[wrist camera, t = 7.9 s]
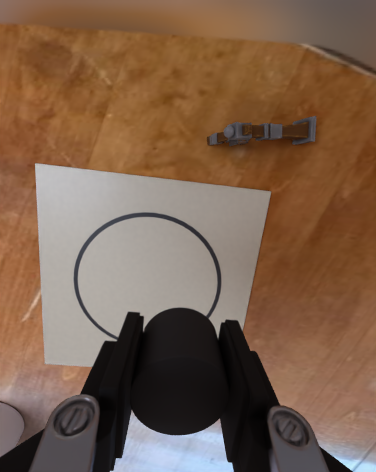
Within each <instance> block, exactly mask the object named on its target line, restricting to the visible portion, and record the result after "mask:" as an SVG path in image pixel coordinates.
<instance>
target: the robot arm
mask: <svg viewBox="0 0 376 472" xmlns="http://www.w3.org/2000/svg"><path fill="white" fill-rule="evenodd" d="M143 325H144V316H140V312H129V311H128V313H127V315H126V318H125V321H124V323H123V326H122V329H121V331H120V334H119V336H118V339H117V341H106V340H105V341H104V343H103V345H102V347H101V349H100V351H99V354H98V356H97V358H96V360H95V362H94V365H93V367H92V369H91V371H90V373H89V376H88V378H87V380H86V382H85V385H84V387H83V389H82V391H81V393H80V395H75V396H72V397H70V398H68V399H66V400H64V401H63V402H61V403H60V404H59V405H58V406H57V407H56V408H55V409H54V410H53V412H52V413H51V415H50V417H49V419H48V422H47V424H46V427H45V429H43V430H42V431H40V432H39V433H37V434H35V435H34V436H32V437H31V438H29V439H28V440H26V441H24V442H23V443H21V444H20V445H18V446H17V447H15V448H13V449H12V450H10V451H9V452H7V453H6V454H4V455H2V456H1V457H0V472H110V471H113V469H114V465H115V460H116V458H122V455H123V450H124V445H125V440H126V435H127V430H128V425H129V420H130V415H131V410H132V408H131V405H130V396H131V384H132V379H133V375H134V371H135V366H136V362H137V357H138V353H139V349H140V344H141V340H142V335H143ZM218 342H219V346H220V350H221V354H222V358H223V363H224V367H225V371H226V375H227V379H228V383H229V388H230V392H229V398H228V403H227V408H226V410H225V412H224V413H223V415H222V416H221V417H220V421H221V427H222V433H223V439H224V445H225V451H226V457H227V461H228V462H232V464H233V469H234V472H352V471H351V470H350V469H349V468H347V467H346V466H345V465H343V464H342V463H341V462H339V461H338V460H337V459H335V458H334V457H333V456H331V455H330V454H329V453H328V452H326V451H325V450H324V449H322V448H321V447H320V446H319V444H318V442H317V439H316V437H315V434H314V432H313V430H312V428H311V426H310V424H309V423H308V422H307V420H306V419H305V418H304V417H303V416H302V415H301V414H299V413H298V412H297V411H295V410H293V409H292V408H289V407H286V406H280V404H279V402H278V399H277V397H276V395H275V392H274V390H273V388H272V386H271V383H270V381H269V379H268V377H267V374H266V372H265V370H264V368H263V365H262V363H261V361H260V358H259V356H258V354H257V353H256V352H255V351H250V349H249V346H248V344H247V341H246V339H245V336H244V334H243V331H242V329H241V327H240V324H239V322H238V320H228V319H226V320H225V322H221V325H220V331H219V337H218Z"/></svg>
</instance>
